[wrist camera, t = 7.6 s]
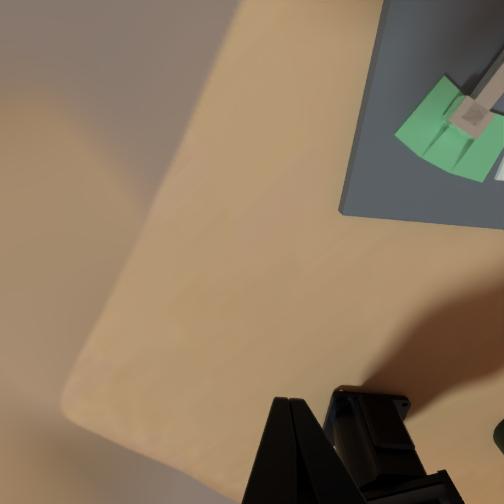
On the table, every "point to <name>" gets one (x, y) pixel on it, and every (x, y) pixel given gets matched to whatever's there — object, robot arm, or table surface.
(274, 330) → the table surface
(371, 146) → the gauge board
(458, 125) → the dial
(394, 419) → the robot arm
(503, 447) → the wine bottle
